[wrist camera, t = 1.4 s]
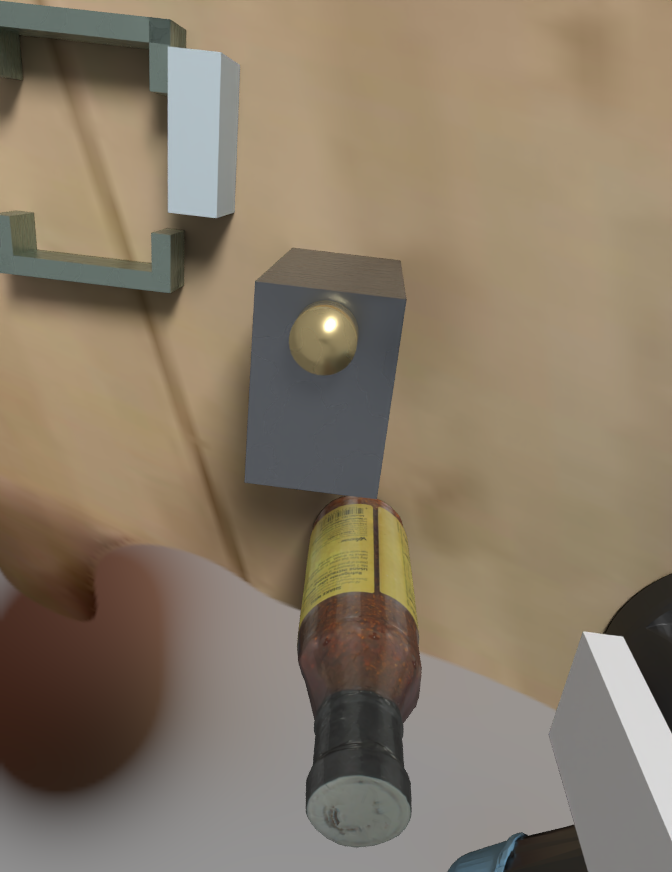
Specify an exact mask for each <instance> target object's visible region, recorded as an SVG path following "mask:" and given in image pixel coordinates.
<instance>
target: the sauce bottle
mask: <svg viewBox="0 0 672 872" xmlns="http://www.w3.org/2000/svg"><path fill="white" fill-rule="evenodd" d="M418 645H419V630H418V622H417V615H416V606H415V597H414V589H413V581H412V573H411V565H410V557H409V548H408V541H407V536H406V533H405V531H404V528H403V524H402V521H401V519H400V516H399V515H398V514H397V513H396V512H395V511H394V510H393V509H392V507H390V506H389V505H387V504H386V503H384V502H383V501H381V500H379V499H370V498H362V497H354V496H344V497H340V498H338V499H335V500H333V501H332V502H330V503H329V504H328V505H327V506H326V507H325V508H324V509H323V510H322V511H321V513H320V514H319V516H318V517H317V519H316V521H315V523H314V525H313V531H312V534H311V537H310V543H309V551H308V558H307V566H306V575H305V583H304V591H303V599H302V607H301V615H300V623H299V631H298V643H297V651H298V662H299V666H300V669H301V673H302V675H303V678H304V680H305V683H306V687H307V691H308V695H309V699H310V703H311V707H312V711H313V716H314V720H315V722H314V732H315V735H316V736H315V747H314V757H313V766H312V768H311V771H310V772H309V775H308V777H307V780H306V814H307V817H308V819H309V820H310V822H311V824H312V825H313V826H314V827H315V829H316V830H318V831H319V832H320V833H321V834H322V835H324V836H325V837H326V838H327V839H329V840H332V841H333V842H335V843H337V844H340V845H344V846H351V847H366V846H374V845H377V844H380V843H384V842H386V841H388V840H391V839H393V838H394V837H397V836H399V835H400V834H401V832H402V831H403V830H404V829H405V828H406V827H407V825H408V823H409V821H410V818H411V786H410V785H411V783H410V780H409V777H408V774H407V772H406V770H405V769H404V761H403V744H402V737H403V723H404V722H405V720H406V719H407V718H408V716H409V715H410V714H411V712H412V711H413V709H414V708H415V707H416V705H417V700H418V698H419V692H420V681H421V670H422V667H421V661H420V655H419V654H420V653H419V647H418Z"/></svg>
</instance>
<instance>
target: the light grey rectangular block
mask: <svg viewBox="0 0 672 872" xmlns="http://www.w3.org/2000/svg"><path fill="white" fill-rule="evenodd" d="M239 81H240V65H239V64H238V63H236V62H235V61H233V60H232V59H230V58H229V57H227V56H226V55H224V54H223V53H221V52H213V51H204V50H195V49H186V48H177V47H168V213H176V214H185V215H194V216H202V217H211V218H219V217H222V216H225V215H228V214H231V213H234V212H235V186H236V160H237V134H238V108H239Z"/></svg>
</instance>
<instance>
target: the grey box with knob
mask: <svg viewBox="0 0 672 872" xmlns="http://www.w3.org/2000/svg"><path fill="white" fill-rule="evenodd" d="M405 306H406V293H405V287H404V280H403V274H402V267H401V261H400V260H393V259H384V258H376V257H367V256H359V255H350V254H342V253H333V252H325V251H316V250H308V249H299V248H292V249H291V250H289V251H288V252H287V253H286V254H285V255H284V256H283V257H282V258H281V259H279V260H278V261H277V262H276V263H275V264H274V265H273V266H272V267H271V268H269V269H268V270H267V271H266V272H265V273H264V274H263V275H262V276H261V277H259V278H258V279H257V280H256V281H255V294H254V313H253V332H252V351H251V370H250V389H249V408H248V427H247V446H246V465H245V483H252V484H260V485H268V486H276V487H284V488H291V489H299V490H307V491H315V492H323V493H331V494H339V495H346V496H354V497H362V498H370V499H377V494H378V487H379V481H380V474H381V467H382V460H383V454H384V447H385V440H386V434H387V427H388V420H389V413H390V407H391V400H392V393H393V386H394V380H395V373H396V366H397V360H398V353H399V346H400V339H401V333H402V326H403V319H404V312H405Z"/></svg>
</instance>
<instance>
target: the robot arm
mask: <svg viewBox="0 0 672 872" xmlns="http://www.w3.org/2000/svg"><path fill="white" fill-rule="evenodd" d="M549 738H550V741H551V745H552V748H553V752H554V755H555V759H556V762H557V765H558V769H559V772H560V776H561V779H562V783H563V786H564V789H565V793H566V797H567V800H568V803H569V807H570V811H571V814H572V817H573V821H574V824H575V825H571V826H567V827H563V828H559V829H555V830H551V831H546V832H542V833H538V834H534V835H530V836H528V835H526V834H524V833H522V832H521V833H517V834H514V835H512V836H511V837H510V838H509V839H508V840H507V841H504V842H501V843H498V844H495V845H492V846H488V847H485V848H483V849H479V850H476V851H473V852H470V853H467V854H465V855H463V856H461V857H460V858H459V859H457V861H455V862H454V863H453V864H452V866H451V867H450V869H449V870H448V872H672V574H670V575H668V576H666V577H664V578H662V579H660V580H658V581H656V582H654V583H653V584H651V585H650V586H648V587H646V588H645V589H644V590H642V591H641V592H639V593H638V594H637V595H636V596H634V597H633V598H632V599H631V600H630V601H629V602H628V603H627V604H626V605H625V606H624V607H623V608H622V609H621V610H620V611H619V613H618V614H617V615H616V617H615V618H614V619H613V621H612V622H611V624H610V626H609V628H608V630H607V632H606V634H599V633H591V632H583V633H582V636H581V639H580V642H579V645H578V648H577V651H576V654H575V657H574V660H573V663H572V666H571V669H570V672H569V675H568V678H567V681H566V684H565V687H564V690H563V693H562V696H561V699H560V702H559V705H558V708H557V711H556V714H555V717H554V720H553V723H552V726H551V729H550V732H549Z"/></svg>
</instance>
